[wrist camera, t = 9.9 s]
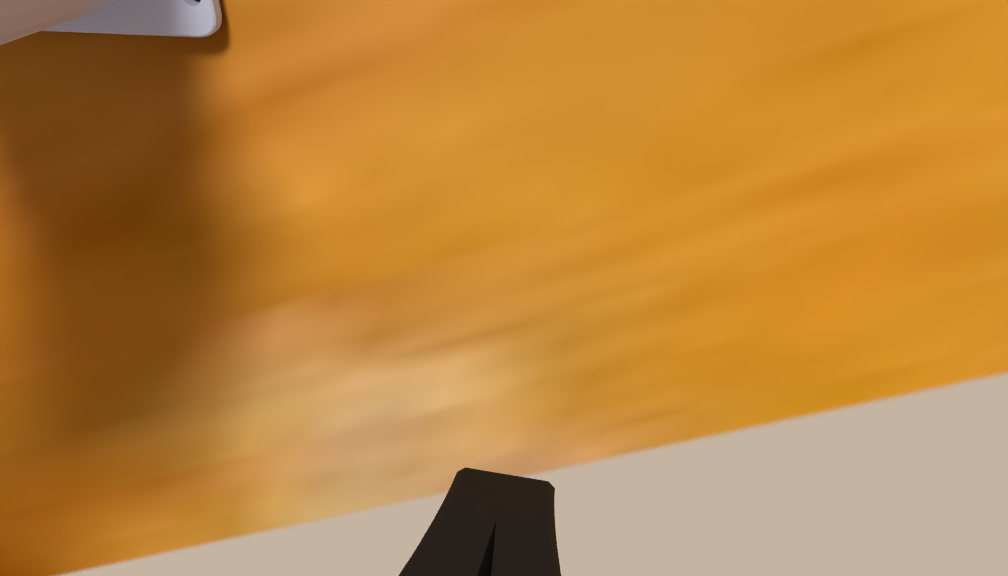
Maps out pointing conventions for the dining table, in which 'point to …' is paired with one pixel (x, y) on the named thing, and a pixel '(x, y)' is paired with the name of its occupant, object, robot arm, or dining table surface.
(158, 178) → the dining table surface
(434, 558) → the robot arm
